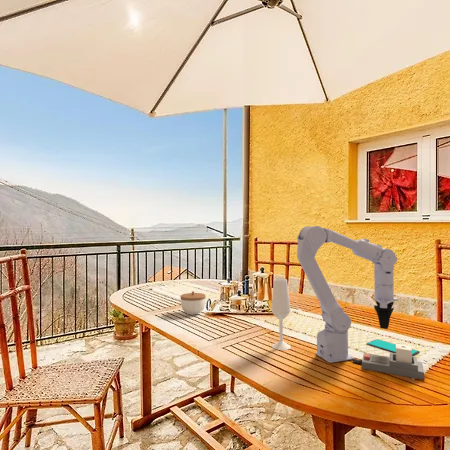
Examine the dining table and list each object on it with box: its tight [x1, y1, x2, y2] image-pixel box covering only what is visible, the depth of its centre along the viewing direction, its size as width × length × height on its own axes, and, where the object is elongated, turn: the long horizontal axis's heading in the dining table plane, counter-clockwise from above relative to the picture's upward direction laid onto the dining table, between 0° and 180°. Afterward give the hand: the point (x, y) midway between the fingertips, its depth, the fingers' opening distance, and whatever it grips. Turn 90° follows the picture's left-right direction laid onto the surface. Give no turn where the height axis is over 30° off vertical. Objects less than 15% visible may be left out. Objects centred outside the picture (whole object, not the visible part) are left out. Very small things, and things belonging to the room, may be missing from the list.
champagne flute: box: [271, 278, 291, 351], centre depth 116 cm, size 7×7×24 cm
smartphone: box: [366, 338, 420, 356], centre depth 113 cm, size 7×1×15 cm
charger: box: [396, 343, 413, 364], centre depth 95 cm, size 4×4×5 cm
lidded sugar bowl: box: [180, 290, 207, 315], centre depth 162 cm, size 13×13×11 cm
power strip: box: [352, 352, 425, 381], centre depth 97 cm, size 19×8×4 cm, turn 62°
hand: (384, 325), depth 107 cm, fingers open, 7 cm apart
